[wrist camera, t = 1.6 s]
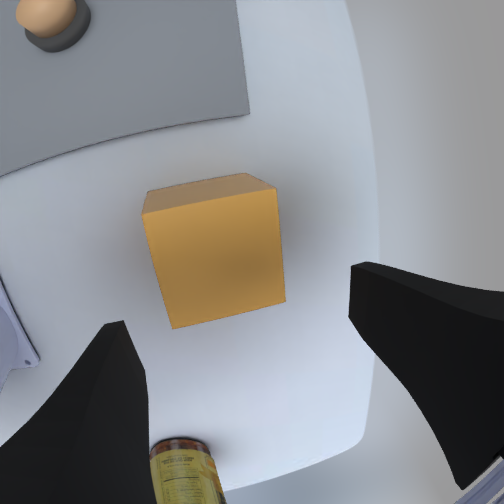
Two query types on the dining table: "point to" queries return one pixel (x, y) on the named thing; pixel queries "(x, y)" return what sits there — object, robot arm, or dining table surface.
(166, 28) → the post board
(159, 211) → the orange cube
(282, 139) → the dining table surface
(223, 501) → the sauce bottle
